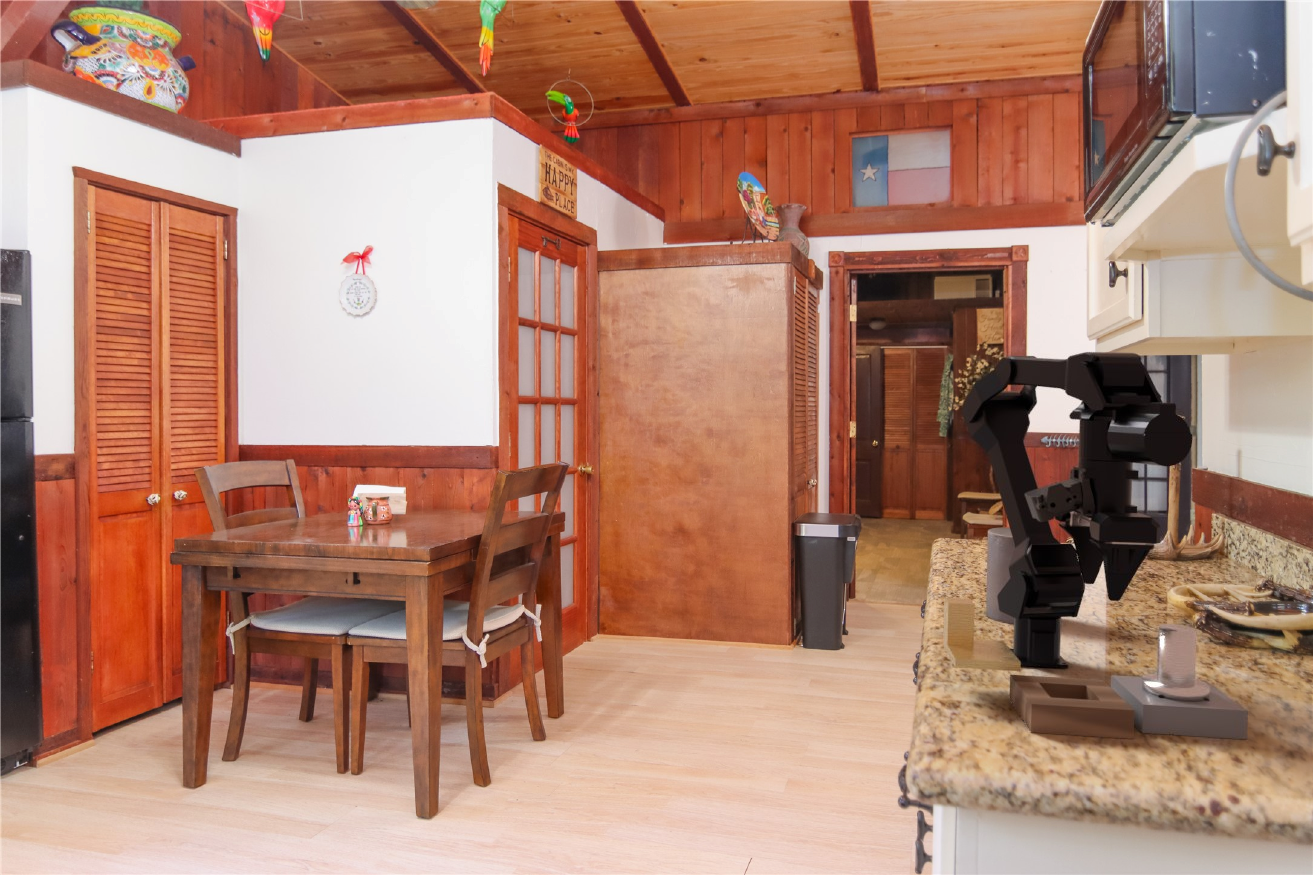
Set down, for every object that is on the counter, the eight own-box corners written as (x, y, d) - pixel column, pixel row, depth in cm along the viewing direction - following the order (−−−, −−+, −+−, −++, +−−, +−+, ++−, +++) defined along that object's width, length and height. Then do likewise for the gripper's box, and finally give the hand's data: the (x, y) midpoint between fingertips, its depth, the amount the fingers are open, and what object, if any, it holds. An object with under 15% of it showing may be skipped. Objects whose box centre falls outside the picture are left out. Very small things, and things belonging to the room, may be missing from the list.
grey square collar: (1110, 700, 104) (1111, 674, 104) (1204, 706, 103) (1205, 680, 103) (1142, 732, 95) (1143, 704, 94) (1246, 739, 93) (1247, 710, 93)
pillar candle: (1008, 607, 150) (1009, 517, 149) (1064, 619, 142) (1066, 524, 141) (973, 616, 144) (974, 522, 143) (1029, 629, 136) (1031, 530, 136)
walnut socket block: (1009, 700, 104) (1010, 674, 104) (1102, 705, 103) (1102, 679, 103) (1030, 732, 94) (1031, 703, 94) (1133, 738, 93) (1134, 710, 93)
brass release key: (943, 645, 111) (944, 597, 111) (1003, 649, 110) (1004, 600, 110) (955, 667, 102) (956, 614, 102) (1020, 671, 101) (1022, 618, 101)
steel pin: (1131, 707, 102) (1134, 619, 102) (1191, 709, 102) (1195, 621, 101) (1155, 728, 96) (1159, 635, 95) (1220, 731, 95) (1223, 637, 95)
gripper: (1014, 453, 117) (1011, 573, 117) (1054, 464, 98) (1049, 607, 99) (1107, 454, 115) (1103, 577, 116) (1164, 466, 96) (1159, 611, 97)
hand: (1100, 591), depth 107 cm, fingers open, 9 cm apart
